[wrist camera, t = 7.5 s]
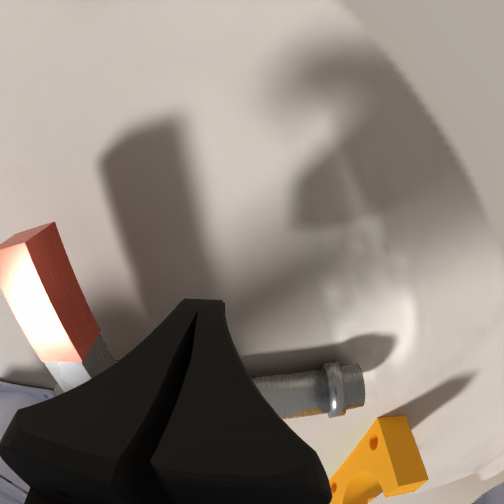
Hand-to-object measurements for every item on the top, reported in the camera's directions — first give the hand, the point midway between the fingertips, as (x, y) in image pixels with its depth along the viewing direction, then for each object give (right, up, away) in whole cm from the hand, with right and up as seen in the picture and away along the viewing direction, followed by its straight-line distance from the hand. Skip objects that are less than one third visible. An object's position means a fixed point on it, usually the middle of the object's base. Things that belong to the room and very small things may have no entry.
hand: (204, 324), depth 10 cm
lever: (-6, -3, +3) cm, 7 cm away
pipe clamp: (+12, -15, +13) cm, 23 cm away
